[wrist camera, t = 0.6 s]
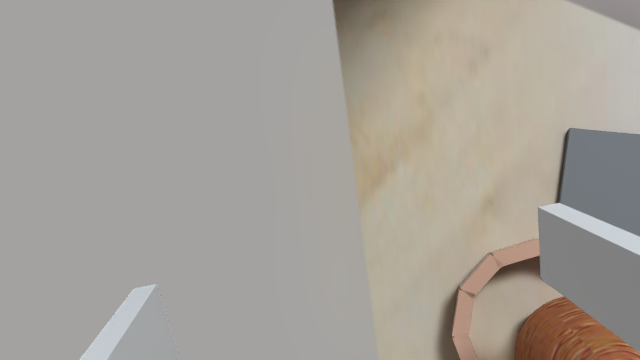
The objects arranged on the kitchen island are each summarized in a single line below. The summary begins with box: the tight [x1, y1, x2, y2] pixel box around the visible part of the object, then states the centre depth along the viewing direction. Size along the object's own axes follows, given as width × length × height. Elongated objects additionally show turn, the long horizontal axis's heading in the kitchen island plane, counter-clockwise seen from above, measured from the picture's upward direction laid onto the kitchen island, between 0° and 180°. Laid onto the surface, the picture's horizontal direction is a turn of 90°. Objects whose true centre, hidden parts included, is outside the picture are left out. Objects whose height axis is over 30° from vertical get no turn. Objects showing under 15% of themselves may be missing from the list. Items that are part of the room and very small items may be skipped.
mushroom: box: [515, 296, 640, 360], centre depth 24 cm, size 8×8×15 cm
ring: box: [452, 239, 540, 360], centre depth 30 cm, size 14×14×2 cm
